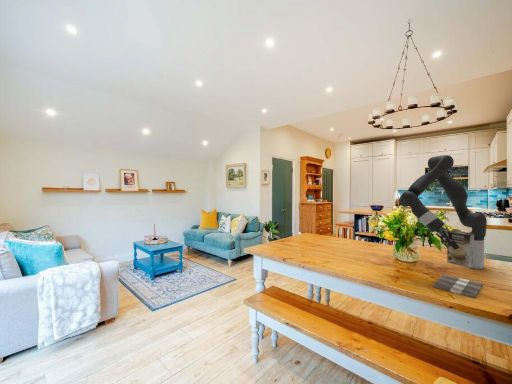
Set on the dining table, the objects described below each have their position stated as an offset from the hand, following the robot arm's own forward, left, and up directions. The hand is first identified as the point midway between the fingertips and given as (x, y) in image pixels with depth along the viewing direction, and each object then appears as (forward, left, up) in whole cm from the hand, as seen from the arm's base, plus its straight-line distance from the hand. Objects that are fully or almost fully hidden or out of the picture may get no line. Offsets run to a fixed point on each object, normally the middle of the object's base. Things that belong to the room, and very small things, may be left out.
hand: (459, 247), depth 118 cm
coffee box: (0, 0, -9) cm, 9 cm away
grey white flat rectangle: (0, 0, -20) cm, 20 cm away
